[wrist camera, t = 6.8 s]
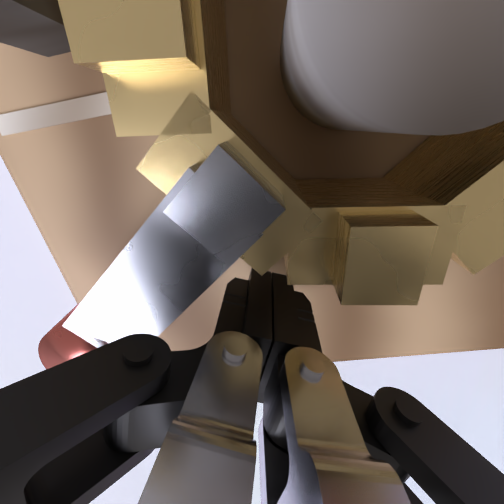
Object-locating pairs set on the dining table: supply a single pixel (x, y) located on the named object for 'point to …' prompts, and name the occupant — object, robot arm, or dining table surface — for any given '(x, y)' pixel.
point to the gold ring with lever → (258, 187)
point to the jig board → (268, 144)
